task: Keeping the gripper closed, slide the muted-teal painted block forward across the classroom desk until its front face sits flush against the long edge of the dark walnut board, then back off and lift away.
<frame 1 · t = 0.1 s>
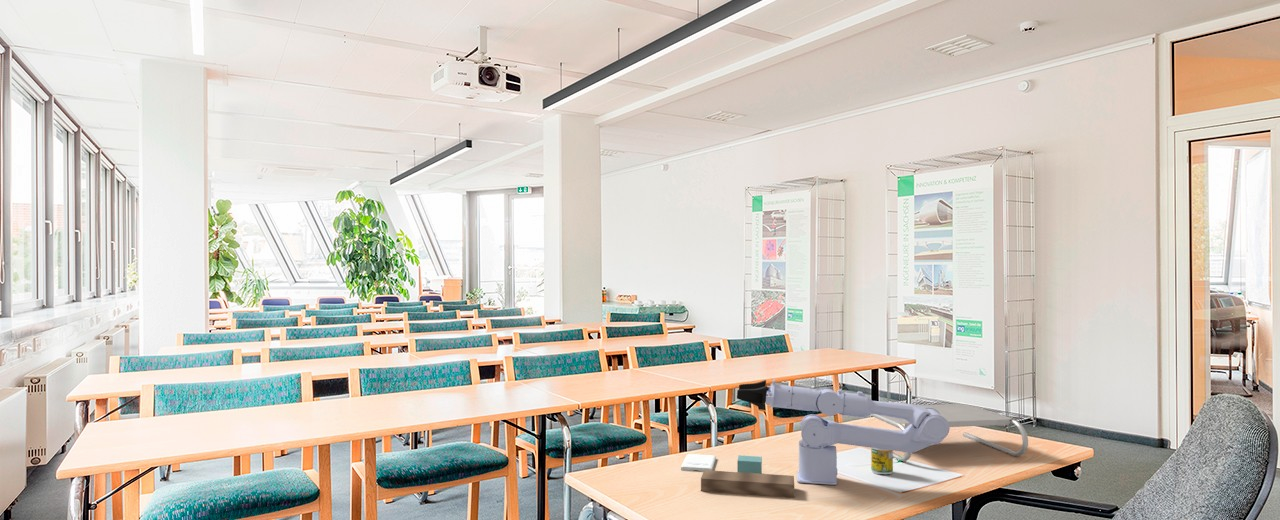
hand: (738, 391, 183), 22 cm above the table, tool horizontal, fingers open, 7 cm apart
monitor stand: (939, 451, 209), on the table
teal block: (749, 476, 183), on the table
walnut board: (747, 489, 171), on the table
external hard drive: (698, 467, 192), on the table
supplement bottle: (881, 473, 186), on the table
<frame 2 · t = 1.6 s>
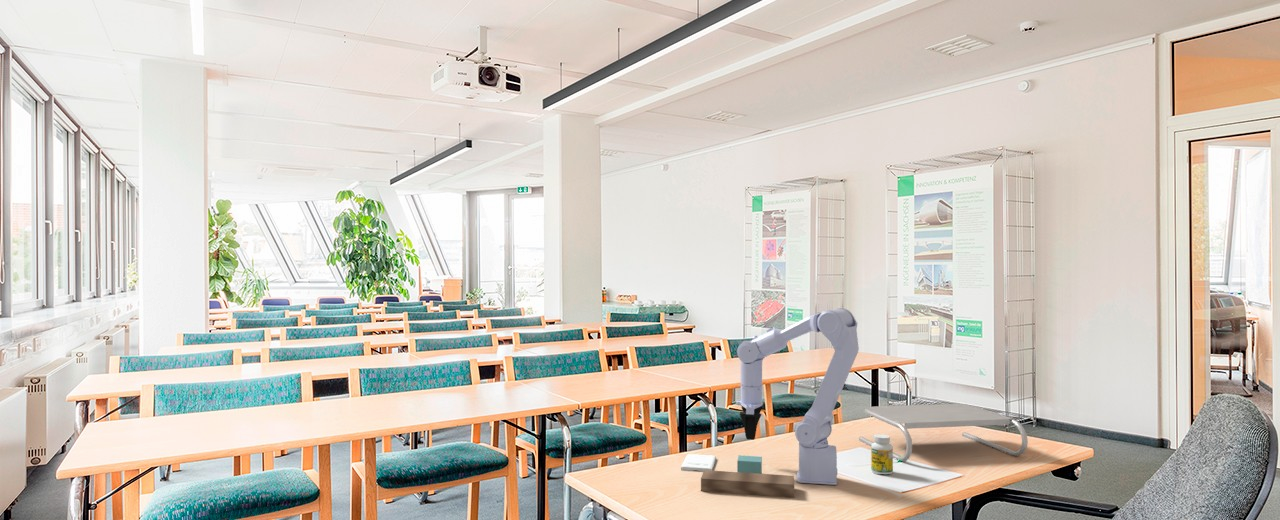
hand: (751, 435, 190), 8 cm above the table, tool pointing down, fingers open, 7 cm apart
nothing on the table moved.
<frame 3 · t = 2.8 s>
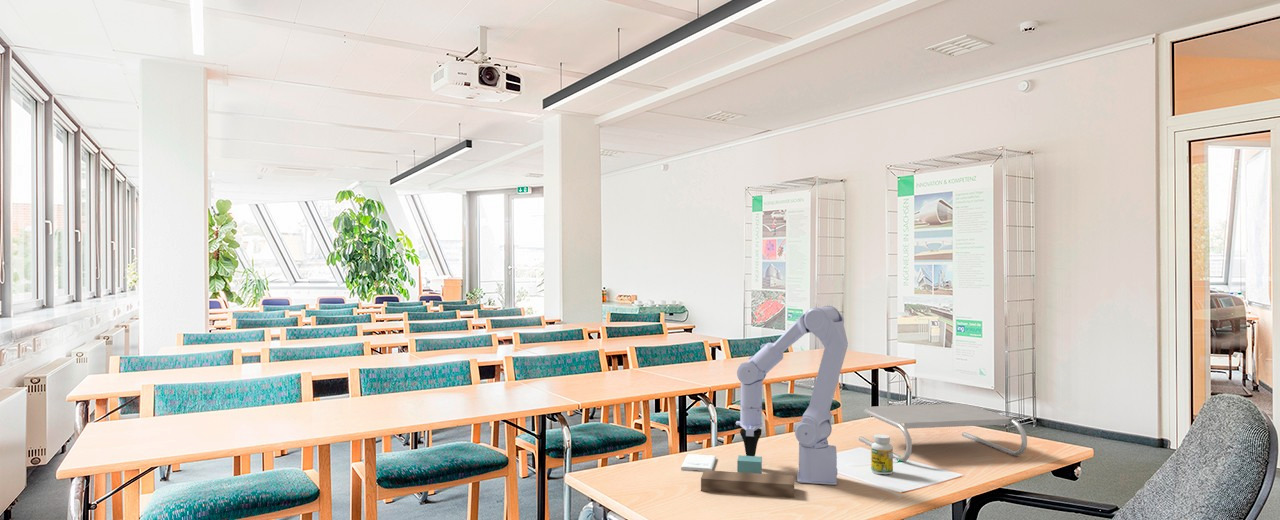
hand: (750, 456, 190), 3 cm above the table, tool pointing down, fingers closed
nothing on the table moved.
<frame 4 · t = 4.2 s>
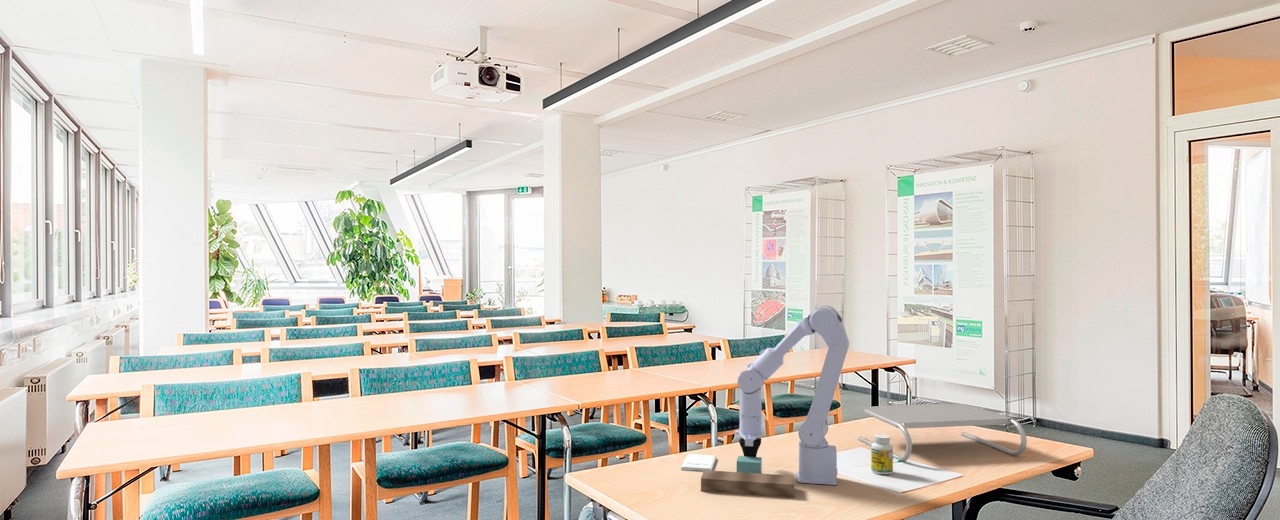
hand: (750, 466, 185), 1 cm above the table, tool pointing down, fingers closed
teal block: (749, 476, 181), on the table, touching gripper
everything else where it was.
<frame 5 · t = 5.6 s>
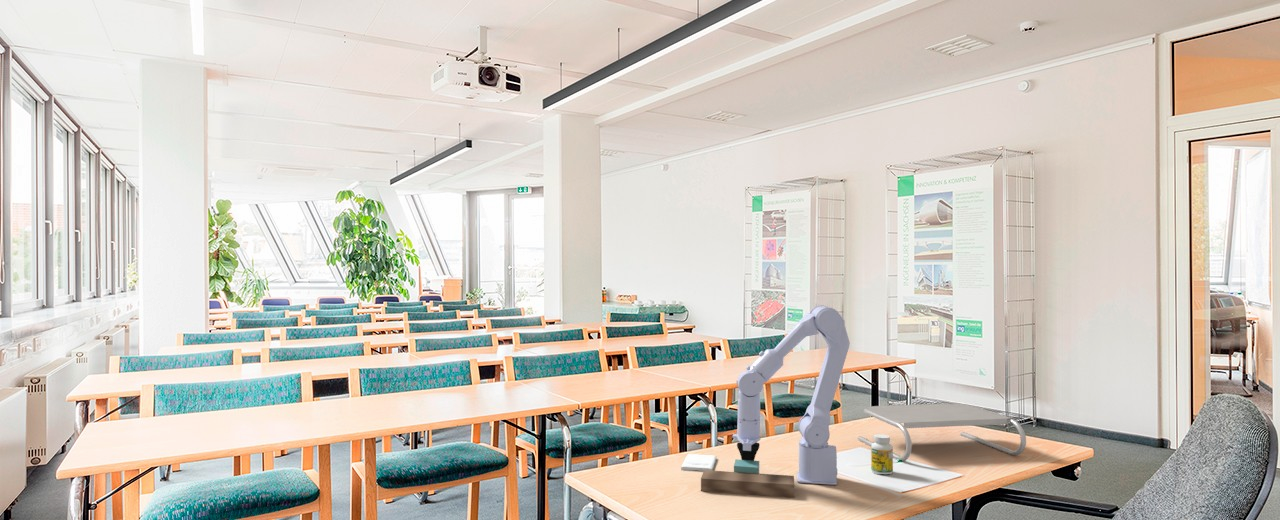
hand: (747, 471, 180), 2 cm above the table, tool pointing down, fingers closed, pressing on teal block
teal block: (746, 481, 178), on the table, touching gripper, walnut board
everything else where it was.
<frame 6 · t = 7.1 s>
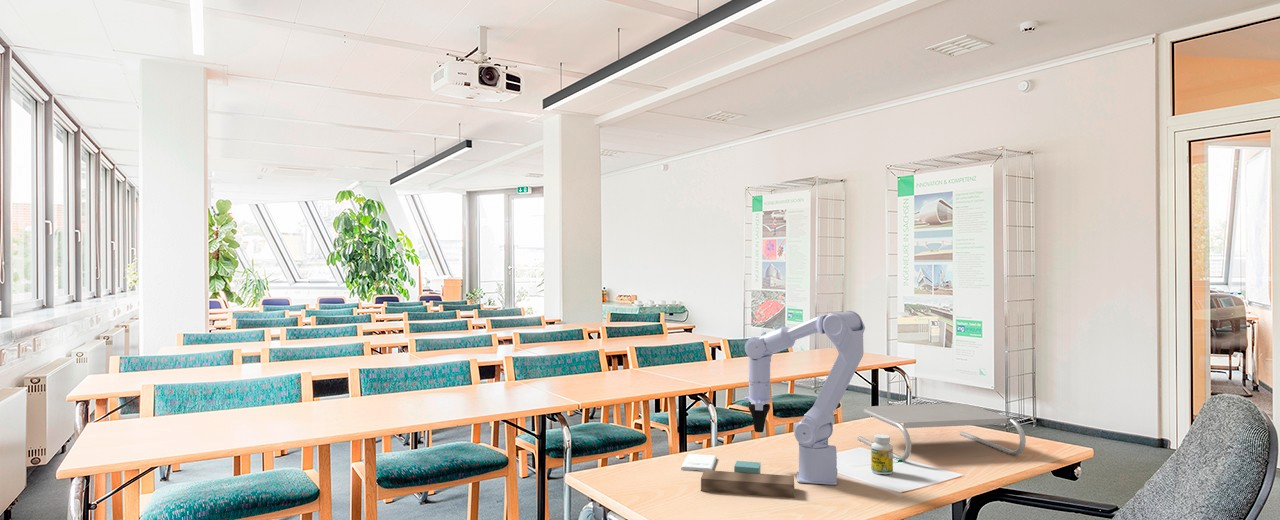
hand: (759, 431, 190), 9 cm above the table, tool pointing down, fingers closed
teal block: (747, 482, 178), on the table
everything else where it was.
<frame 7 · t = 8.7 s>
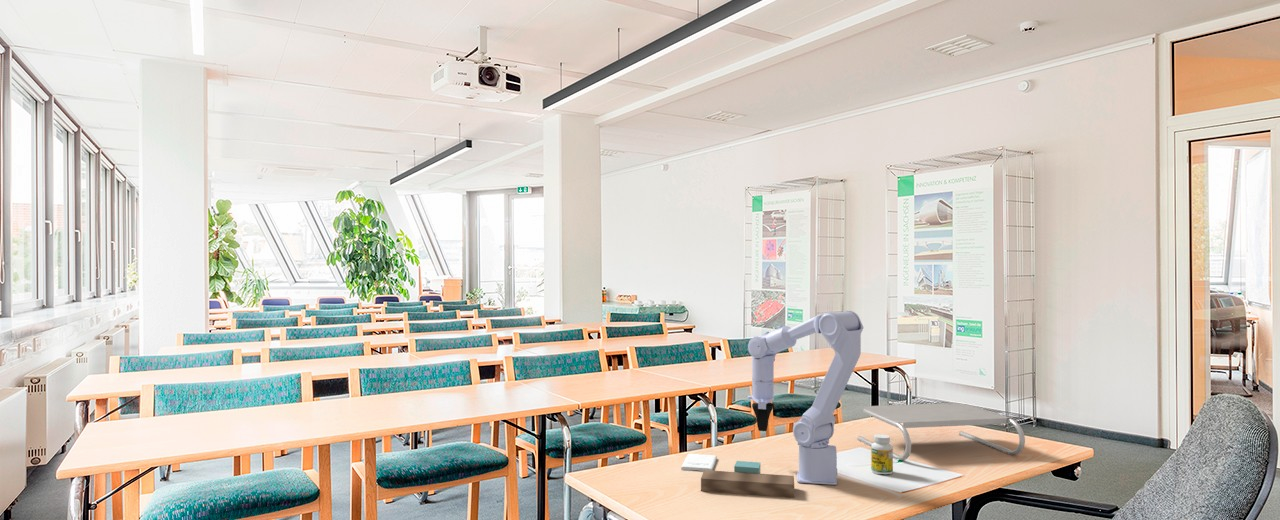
hand: (762, 430, 192), 9 cm above the table, tool pointing down, fingers closed
at the end: teal block 0.3 cm from the target spot on the table beside the walnut board, on the table; teal block tilted 0° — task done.
